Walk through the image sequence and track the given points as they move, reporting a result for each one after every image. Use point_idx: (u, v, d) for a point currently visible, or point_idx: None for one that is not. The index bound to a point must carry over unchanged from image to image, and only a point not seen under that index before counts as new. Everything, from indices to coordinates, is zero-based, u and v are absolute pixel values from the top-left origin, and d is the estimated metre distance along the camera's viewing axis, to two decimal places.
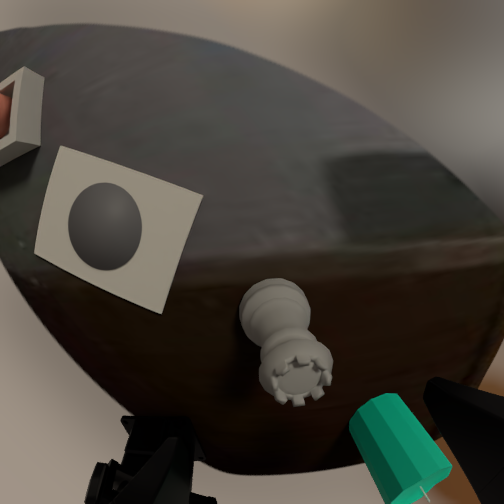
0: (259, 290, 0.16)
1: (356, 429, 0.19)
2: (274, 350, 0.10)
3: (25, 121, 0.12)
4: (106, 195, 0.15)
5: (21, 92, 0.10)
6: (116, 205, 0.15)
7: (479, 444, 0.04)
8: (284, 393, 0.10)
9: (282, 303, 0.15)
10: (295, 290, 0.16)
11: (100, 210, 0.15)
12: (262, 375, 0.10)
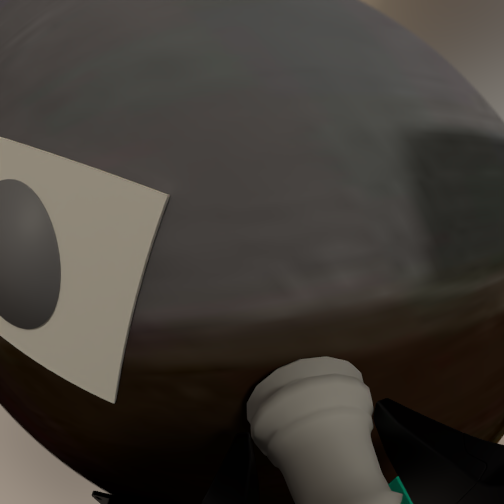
0: (287, 389, 0.07)
1: None
2: None
3: None
4: (8, 201, 0.06)
5: None
6: (21, 219, 0.07)
7: (425, 479, 0.04)
8: None
9: (335, 419, 0.06)
10: (355, 383, 0.07)
11: (4, 228, 0.07)
12: None
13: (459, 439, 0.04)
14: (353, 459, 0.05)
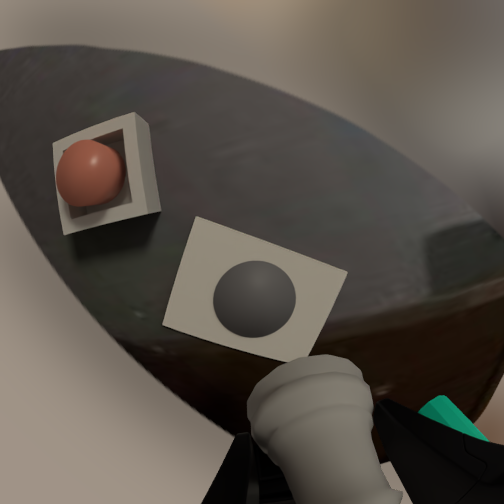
0: (287, 387, 0.07)
1: None
2: None
3: (148, 185, 0.15)
4: (260, 272, 0.18)
5: (139, 148, 0.13)
6: (270, 282, 0.18)
7: (425, 479, 0.04)
8: None
9: (336, 417, 0.06)
10: (355, 381, 0.07)
11: (253, 286, 0.18)
12: None
13: (459, 439, 0.04)
14: (353, 457, 0.05)
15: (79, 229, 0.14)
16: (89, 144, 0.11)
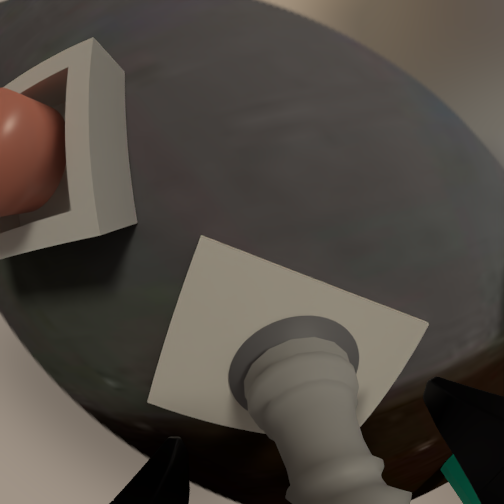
0: (278, 364, 0.08)
1: (452, 470, 0.14)
2: None
3: (107, 175, 0.07)
4: (311, 334, 0.10)
5: (92, 100, 0.06)
6: None
7: (479, 444, 0.04)
8: None
9: (321, 390, 0.07)
10: (339, 360, 0.08)
11: None
12: None
13: None
14: (336, 425, 0.06)
15: None
16: None
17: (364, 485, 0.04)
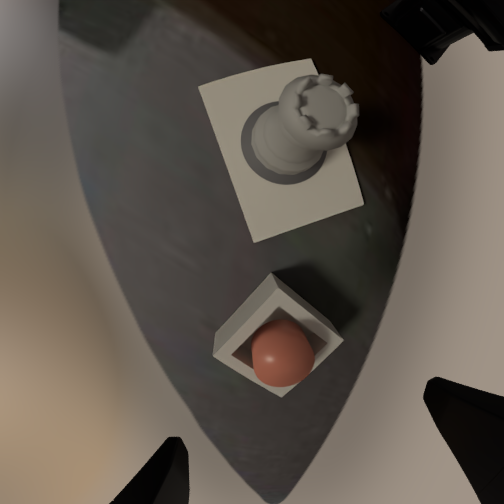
0: (280, 170, 0.15)
1: None
2: (316, 148, 0.10)
3: (258, 300, 0.17)
4: None
5: (235, 331, 0.16)
6: None
7: (479, 444, 0.04)
8: (347, 107, 0.09)
9: (274, 148, 0.14)
10: (255, 142, 0.14)
11: None
12: (345, 139, 0.09)
13: None
14: (281, 138, 0.12)
15: (330, 331, 0.16)
16: (259, 373, 0.15)
17: None
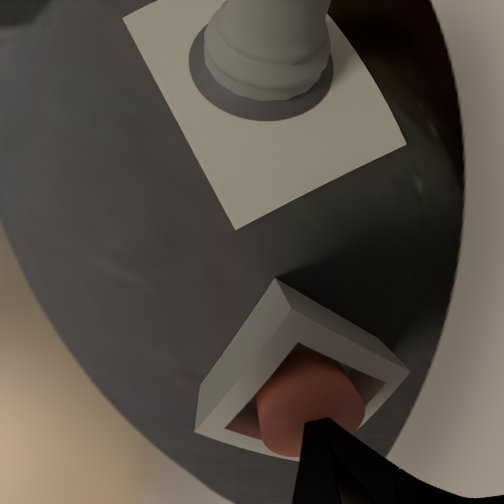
0: (259, 86, 0.07)
1: None
2: None
3: (257, 335, 0.09)
4: None
5: (223, 393, 0.08)
6: None
7: None
8: None
9: (239, 41, 0.06)
10: (208, 49, 0.07)
11: None
12: None
13: (392, 476, 0.04)
14: (245, 6, 0.04)
15: (390, 363, 0.08)
16: (274, 446, 0.07)
17: None
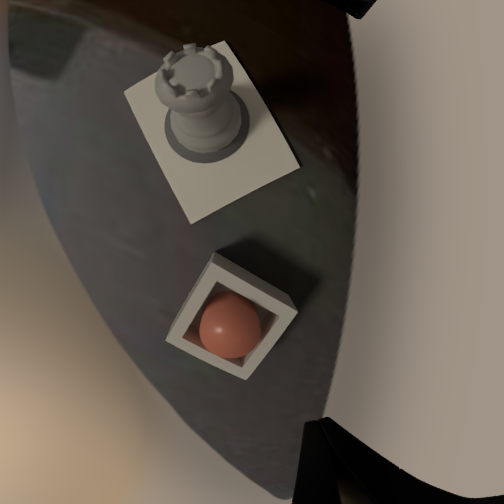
0: (198, 148, 0.15)
1: None
2: (191, 111, 0.09)
3: (199, 279, 0.16)
4: None
5: (181, 312, 0.16)
6: None
7: None
8: (216, 66, 0.09)
9: (184, 128, 0.13)
10: (172, 127, 0.14)
11: None
12: (220, 96, 0.09)
13: (392, 475, 0.04)
14: (181, 116, 0.12)
15: (279, 302, 0.16)
16: (208, 344, 0.16)
17: None
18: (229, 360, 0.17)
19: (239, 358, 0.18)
